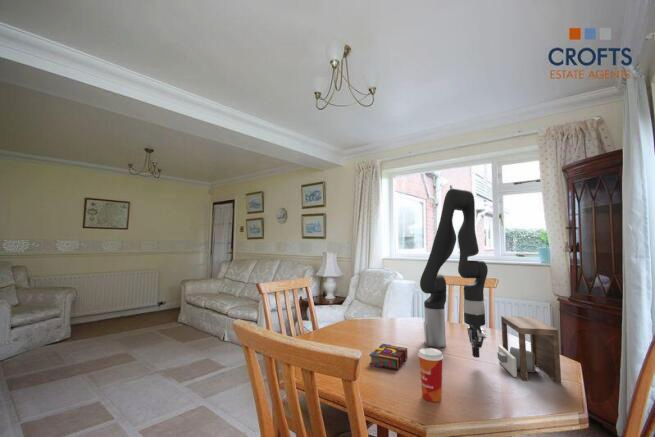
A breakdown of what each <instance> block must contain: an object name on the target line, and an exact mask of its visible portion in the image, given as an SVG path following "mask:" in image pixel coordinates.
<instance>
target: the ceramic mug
mask: <svg viewBox="0 0 655 437" xmlns="http://www.w3.org/2000/svg"><path fill="white" fill-rule="evenodd" d="M509 353H510V354H512V355H513V356H514V357H515V358H516V366H517V371H518V370H519V371H521V370H520V351H519V348H518V347H513V346H511V347H510V349H509ZM526 362H527V373H528V372H529V373H534V372H536V364H535V354H534V353H533V352H531V350H526Z"/></svg>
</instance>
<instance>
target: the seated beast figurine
mask: <svg viewBox="0 0 655 437" xmlns="http://www.w3.org/2000/svg"><path fill="white" fill-rule="evenodd" d="M467 328H469V326H468V327H467ZM480 328H481V330H482V335H481V337H483V338H486V336H487V332H486V328H485V329H484V328H483V327H482V326H480Z"/></svg>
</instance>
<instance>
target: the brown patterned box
mask: <svg viewBox="0 0 655 437" xmlns="http://www.w3.org/2000/svg"><path fill="white" fill-rule="evenodd" d="M369 357H371V359H370V361H371V362H370V363H369V366H371V367H372V368H375V367H377V368H384V369H388V370H393V371H398V370H399V369H401V368H402V365H403V364H404V363H406V362H407V360H408V347H402V346H401V347H400V346H396V345H391V344H387V343H382V344H380V345H379V347H376V348H375V350H374V351H372V352H371V353H369Z"/></svg>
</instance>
